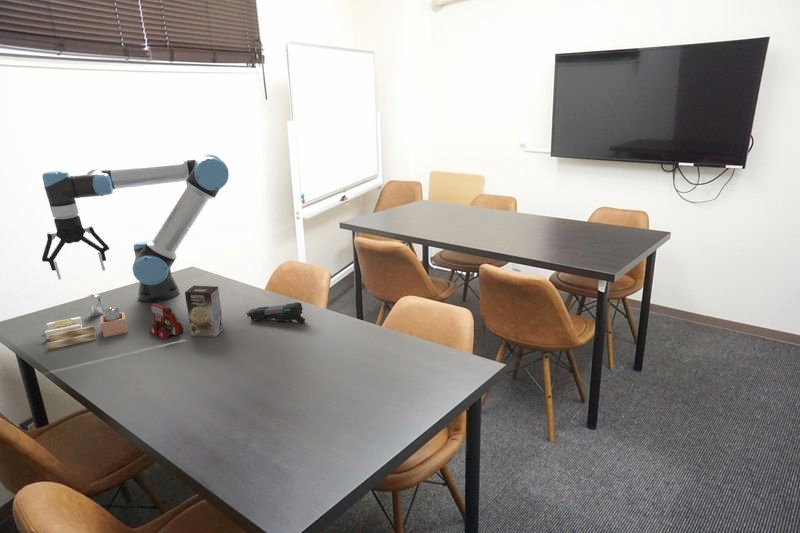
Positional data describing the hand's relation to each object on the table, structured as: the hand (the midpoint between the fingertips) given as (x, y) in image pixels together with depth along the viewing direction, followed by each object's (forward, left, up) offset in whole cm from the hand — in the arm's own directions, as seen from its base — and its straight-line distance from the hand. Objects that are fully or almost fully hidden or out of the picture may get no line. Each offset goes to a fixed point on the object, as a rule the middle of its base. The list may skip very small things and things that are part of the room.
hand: (82, 274), depth 175 cm
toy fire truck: (-22, +32, -17) cm, 42 cm away
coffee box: (-34, +38, -17) cm, 53 cm away
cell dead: (-7, +20, -16) cm, 26 cm away
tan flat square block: (+8, +10, -15) cm, 19 cm away
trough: (+6, +20, -17) cm, 27 cm away
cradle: (+8, +10, -17) cm, 21 cm away
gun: (-57, +41, -17) cm, 73 cm away
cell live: (-2, 0, -17) cm, 17 cm away
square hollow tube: (-7, +20, -17) cm, 27 cm away
